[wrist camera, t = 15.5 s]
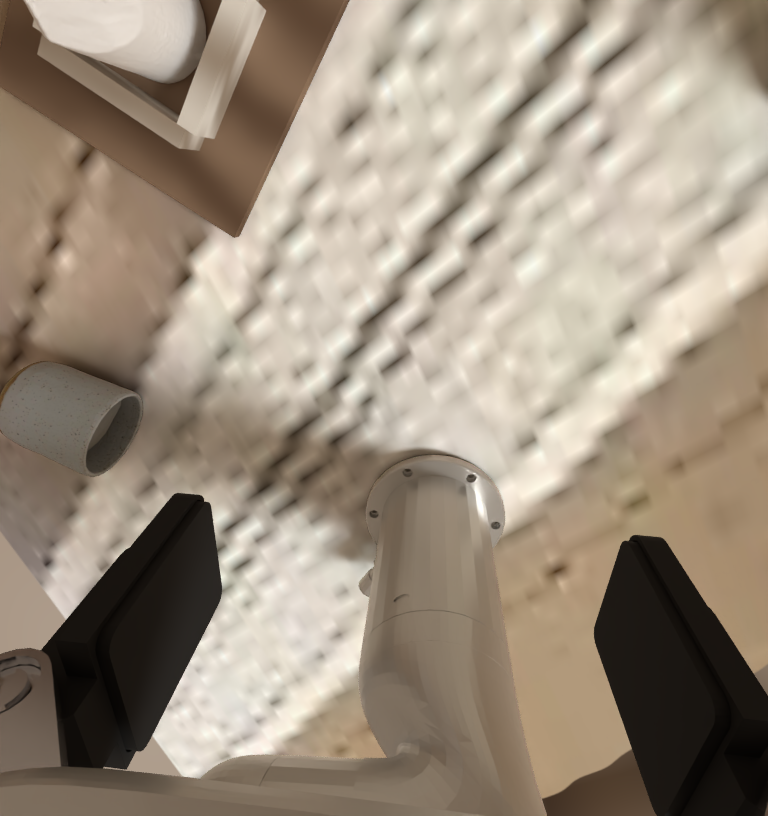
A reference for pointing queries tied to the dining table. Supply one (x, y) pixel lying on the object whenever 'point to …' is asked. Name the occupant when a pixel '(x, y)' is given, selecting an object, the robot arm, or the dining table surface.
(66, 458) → the ceramic mug
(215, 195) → the stand
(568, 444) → the dining table surface
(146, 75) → the roll
